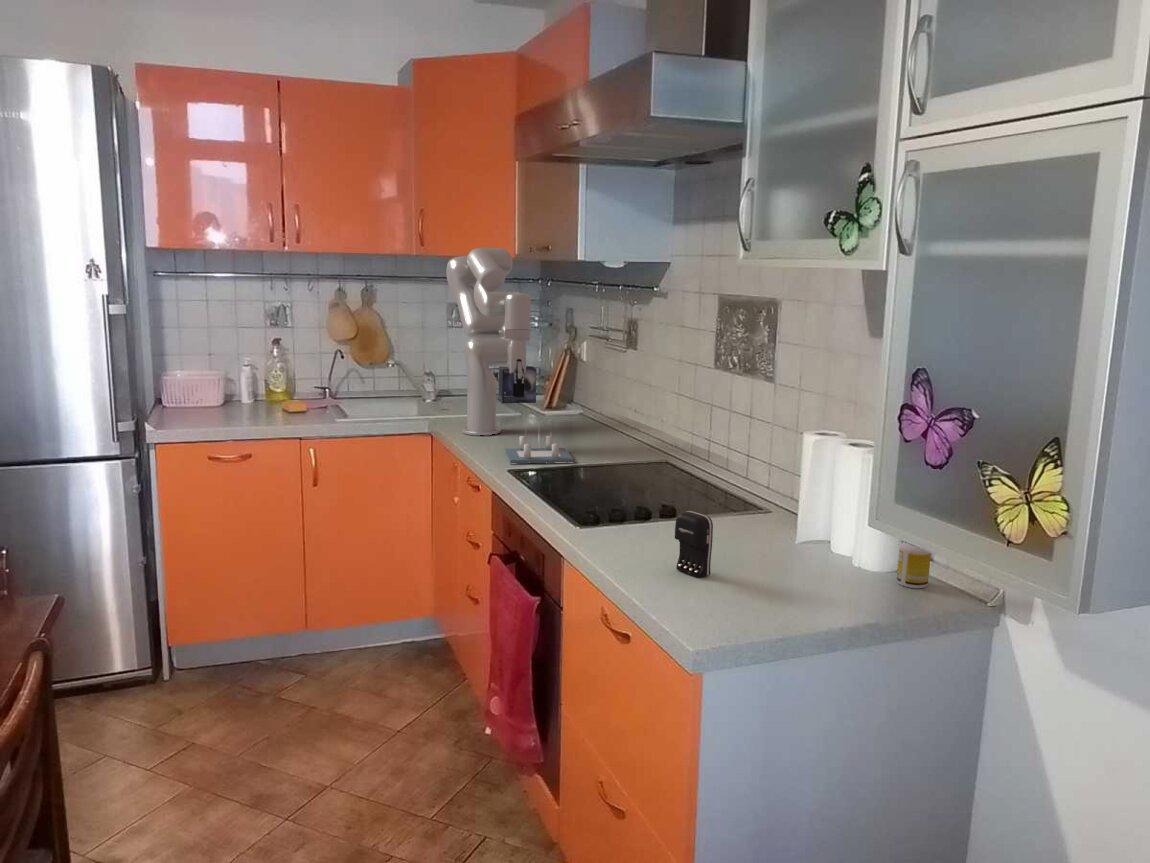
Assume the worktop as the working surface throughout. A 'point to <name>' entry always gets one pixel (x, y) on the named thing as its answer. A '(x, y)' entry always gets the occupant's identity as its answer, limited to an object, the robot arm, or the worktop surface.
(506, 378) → the small box
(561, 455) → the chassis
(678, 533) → the battery charger
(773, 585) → the worktop surface
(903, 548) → the supplement bottle
